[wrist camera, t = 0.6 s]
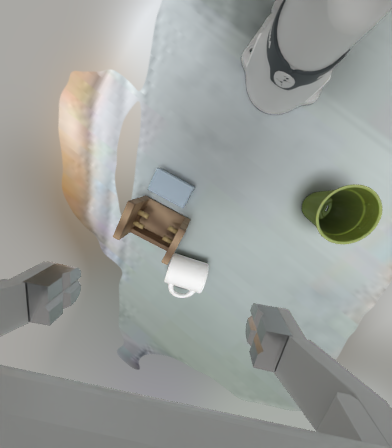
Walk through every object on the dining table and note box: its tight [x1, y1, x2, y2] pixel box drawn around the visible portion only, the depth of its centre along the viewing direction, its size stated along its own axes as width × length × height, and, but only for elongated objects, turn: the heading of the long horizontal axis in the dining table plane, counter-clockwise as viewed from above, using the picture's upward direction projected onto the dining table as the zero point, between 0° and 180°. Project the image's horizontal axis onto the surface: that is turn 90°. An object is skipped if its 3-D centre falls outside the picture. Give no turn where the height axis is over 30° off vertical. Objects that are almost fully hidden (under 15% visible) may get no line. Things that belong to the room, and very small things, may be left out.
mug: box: [165, 253, 209, 298], centre depth 49 cm, size 12×10×8 cm
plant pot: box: [302, 185, 382, 244], centre depth 40 cm, size 12×12×11 cm
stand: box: [113, 196, 190, 265], centre depth 44 cm, size 9×14×11 cm, turn 62°
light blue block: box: [148, 168, 195, 208], centre depth 45 cm, size 6×10×5 cm, turn 62°
